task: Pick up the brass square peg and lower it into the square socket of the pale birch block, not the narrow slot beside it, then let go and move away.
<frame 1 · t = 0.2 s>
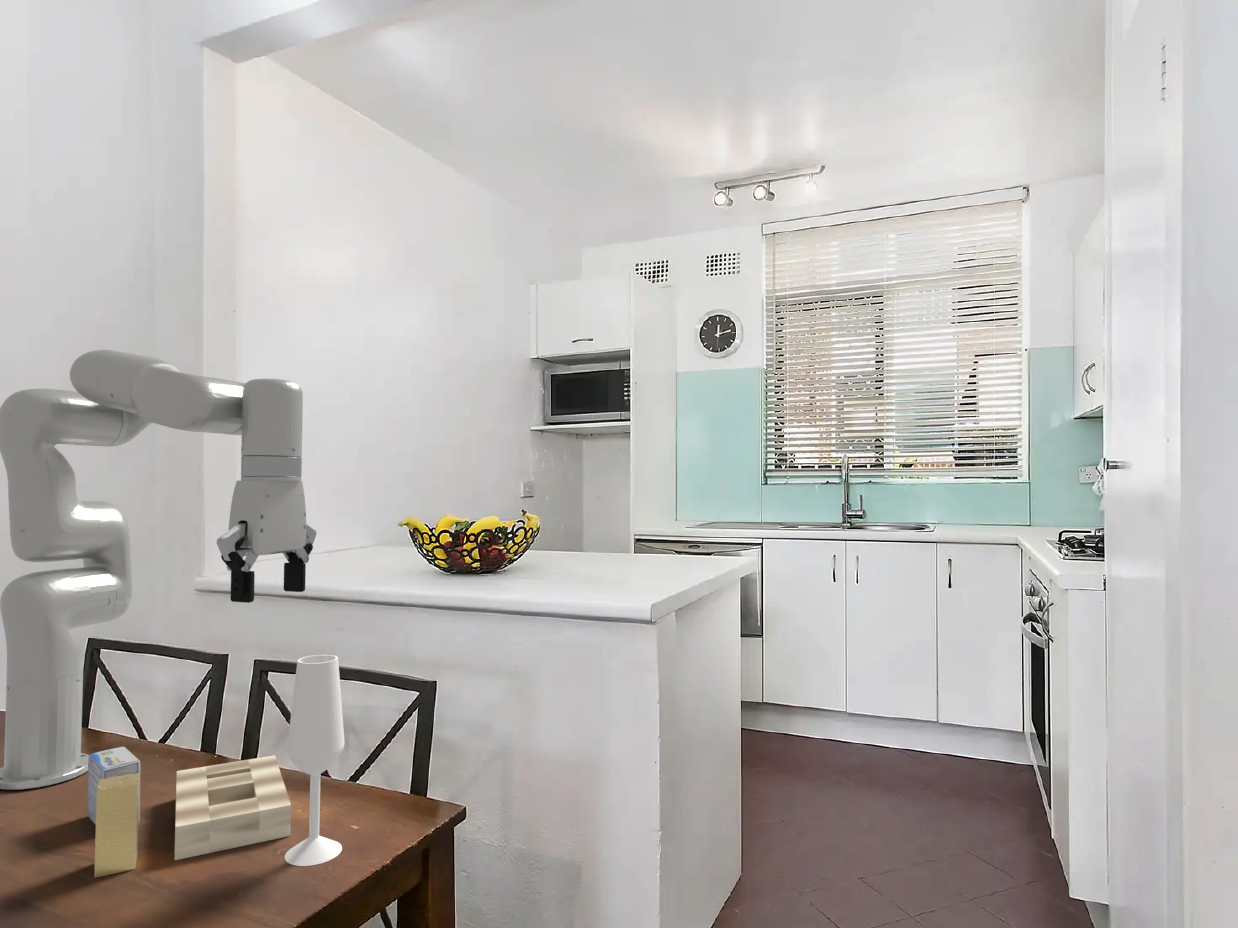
hand: (269, 596, 101), 31 cm above the table, tool pointing down, fingers open, 9 cm apart
brass peg: (116, 865, 89), on the table
champagne flute: (313, 853, 93), on the table
medicine box: (112, 822, 101), on the table
socket block: (230, 816, 102), on the table
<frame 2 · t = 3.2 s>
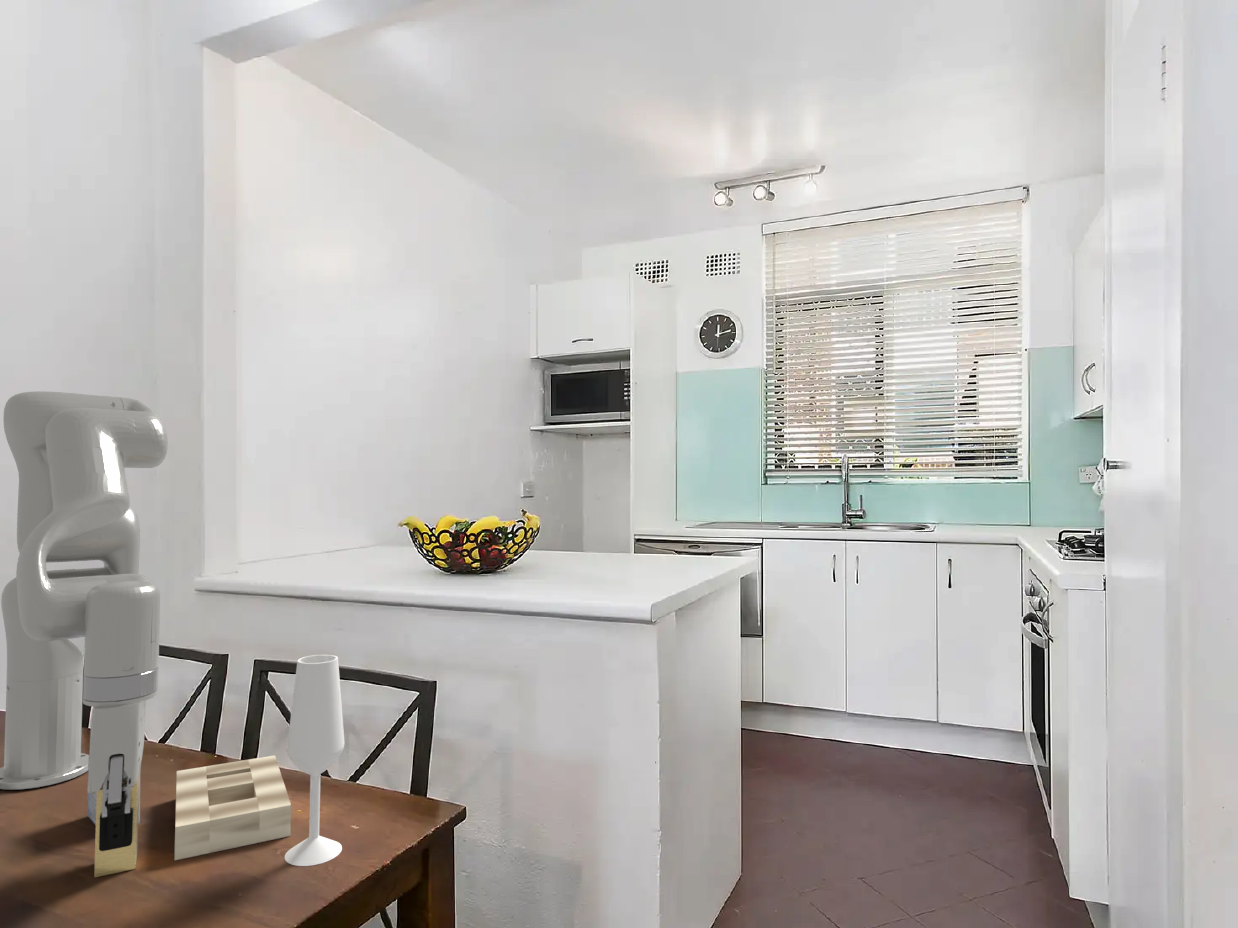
hand: (117, 837, 89), 3 cm above the table, tool pointing down, fingers closed on brass peg, 4 cm apart
brass peg: (116, 865, 89), on the table, touching gripper
everything else where it was.
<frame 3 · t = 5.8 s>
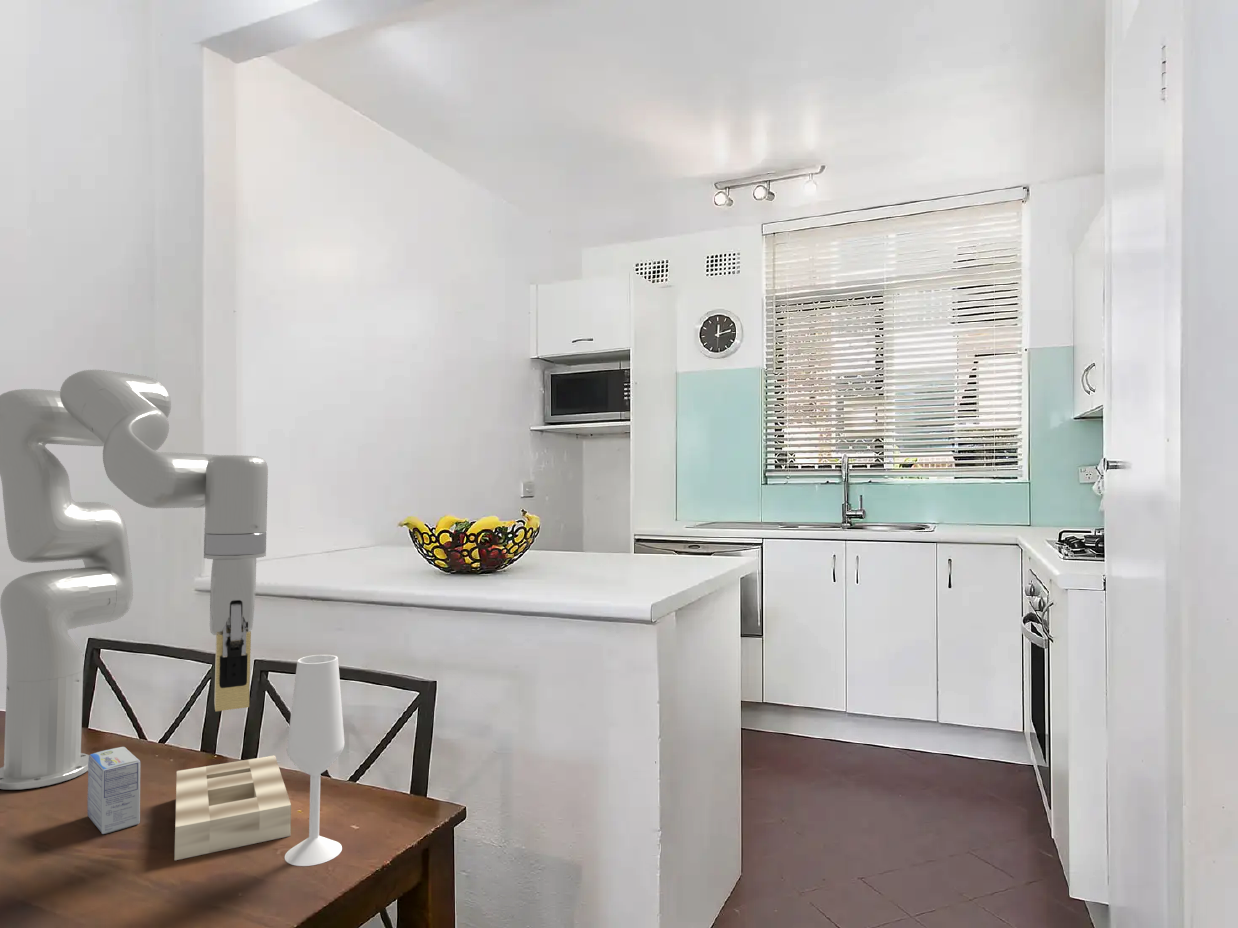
hand: (232, 680, 100), 19 cm above the table, tool pointing down, fingers closed on brass peg, 4 cm apart
brass peg: (231, 705, 100), point 16 cm above the table, touching gripper
everything else where it was.
when the fingers open (5 cm above the table, at t = 8.4 s): brass peg drops 1 cm, resting in socket block.
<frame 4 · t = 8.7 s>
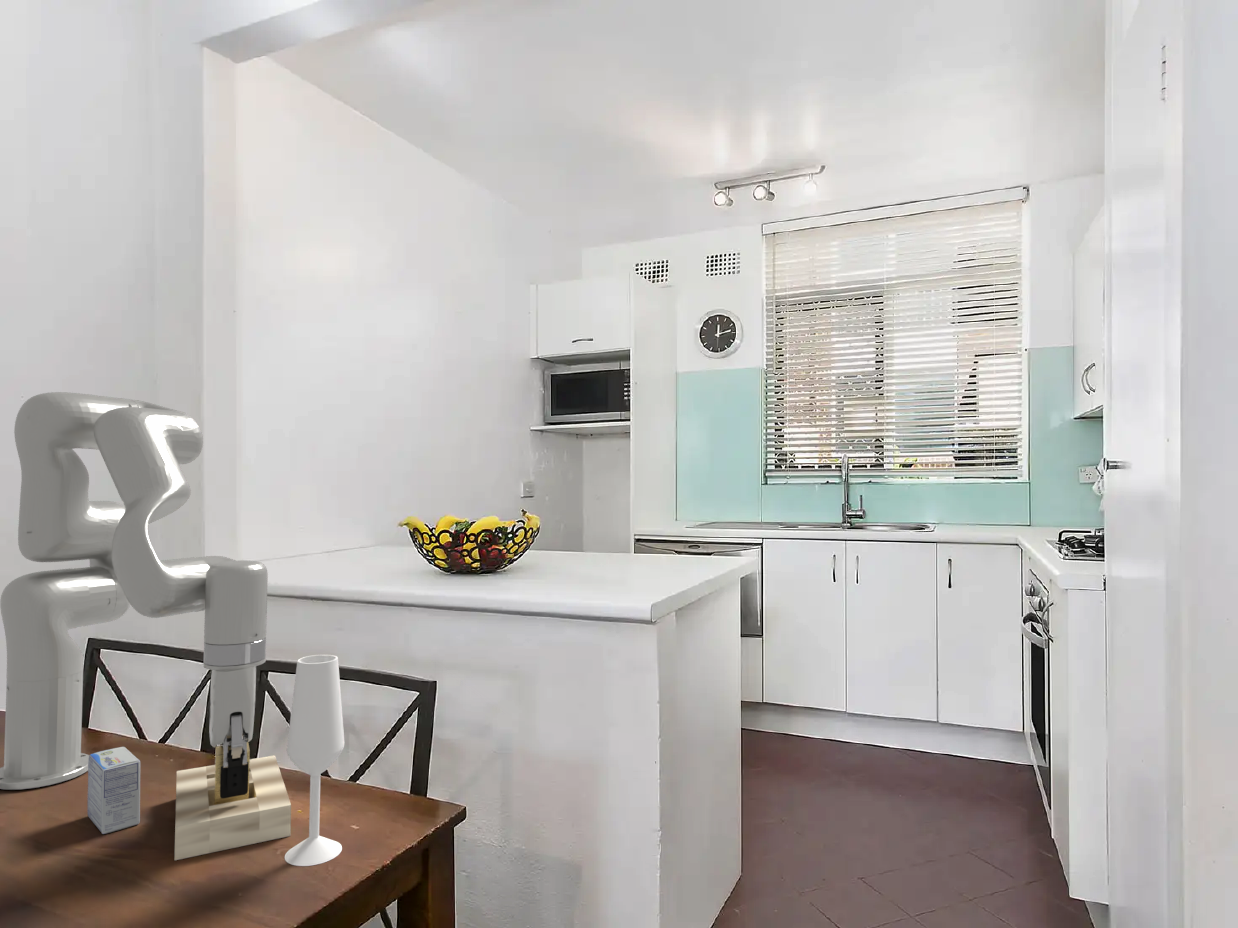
hand: (232, 783, 100), 5 cm above the table, tool pointing down, fingers open, 7 cm apart
brass peg: (230, 823, 100), resting in socket block
everything else where it was.
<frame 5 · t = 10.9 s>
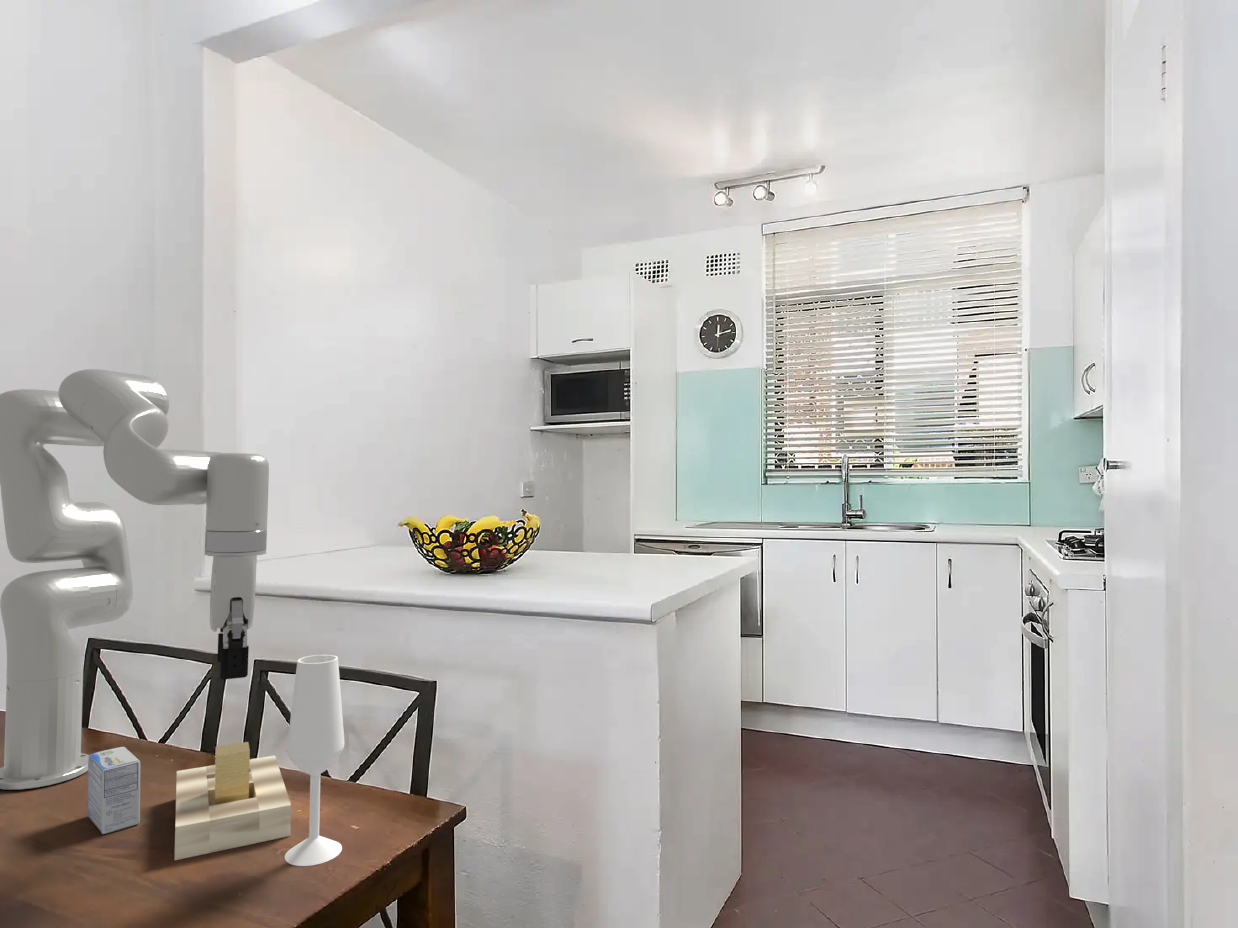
hand: (231, 669, 101), 21 cm above the table, tool pointing down, fingers open, 9 cm apart
nothing on the table moved.
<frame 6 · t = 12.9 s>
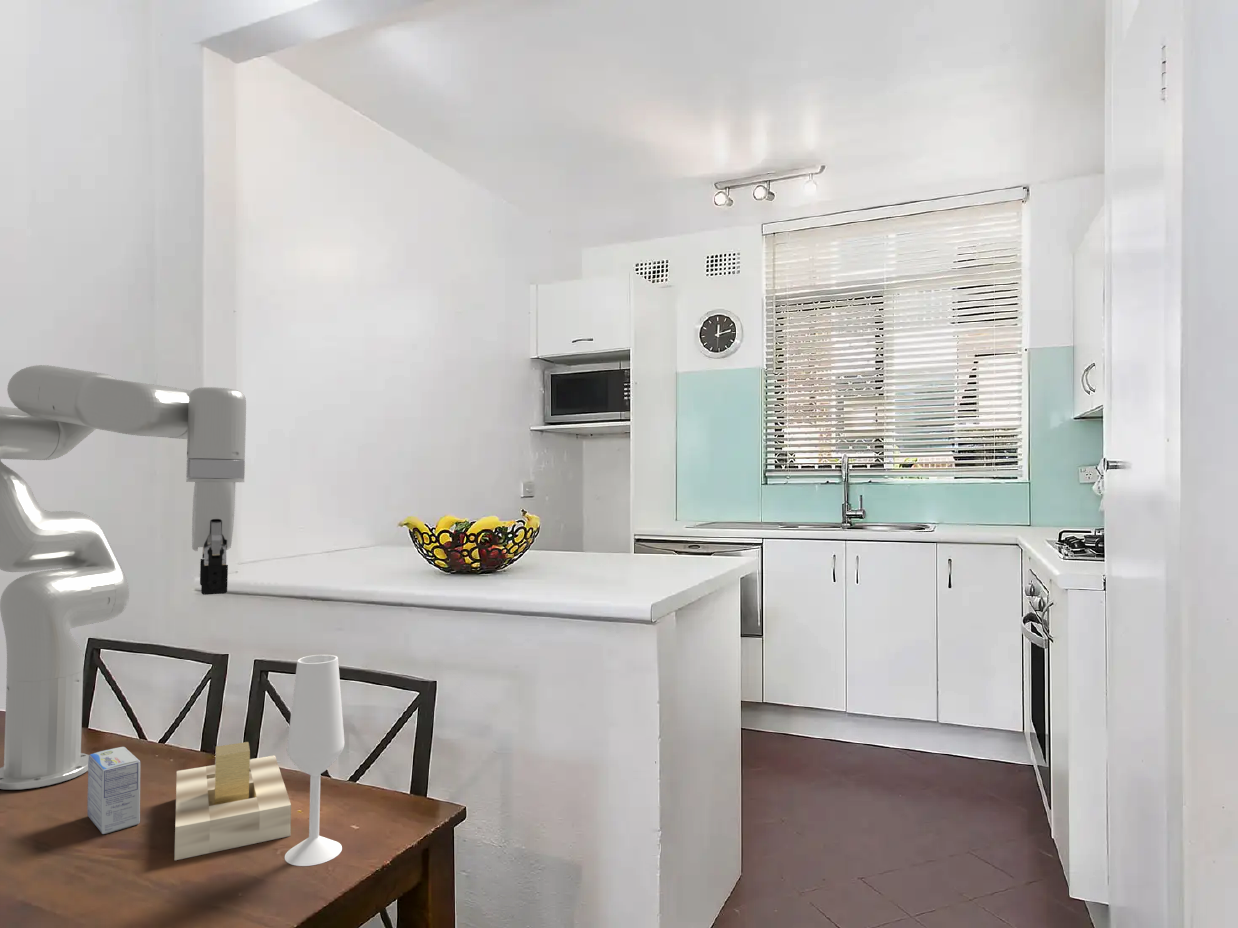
hand: (213, 589, 109), 30 cm above the table, tool pointing down, fingers open, 9 cm apart
nothing on the table moved.
at the end: brass peg 0.2 cm from the target spot on the socket block, point 0.0 cm above the socket block's base; brass peg tilted 0°; the gripper is holding nothing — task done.
